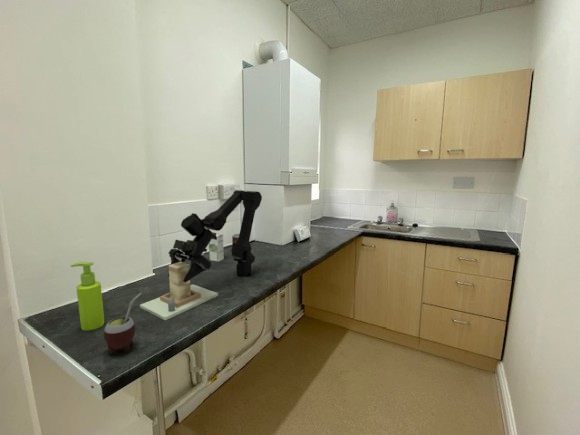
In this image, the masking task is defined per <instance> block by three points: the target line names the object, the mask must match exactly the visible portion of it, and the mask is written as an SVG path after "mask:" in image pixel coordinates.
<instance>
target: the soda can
mask: <svg viewBox="0 0 580 435" xmlns="http://www.w3.org/2000/svg"><path fill="white" fill-rule="evenodd" d="M239 234H240V233H235V234H233V235H232V236H231V237H232V238H231V239H232V241H231V242H232V243H231V244H233V242H235V243H236V242H237V240H238V239H239Z"/></svg>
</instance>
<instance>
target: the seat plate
mask: <svg viewBox="0 0 580 435" xmlns="http://www.w3.org/2000/svg"><path fill="white" fill-rule="evenodd" d="M190 289H191V296H190V297H188V298H186V299H183V300H181V301H179V302H176V301H174V298H170V292H167V293H165V294H163V295H160V296H159V297H157V298H154V299H152V300H149V301H147V302H143V303H140V304H139V308H140V309H142V310H144V311H146V312H148V313H150V314H151V315H154V316H156V317H158V318H159V319H161V320H164V321H168V320H169V319H172V318H174V317H175V316H178V315H179V314H182V313H184V312H186V311H188V310H190V309H193V308H196V307H197V306H200V305H201V304H203V303H206V302H209V301H210V300H212V299H214V298H216V297H219V292H216V291H213V290H210V289H207V288H204V287H202V286H199V285H195V284H190Z"/></svg>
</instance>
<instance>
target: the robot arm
mask: <svg viewBox="0 0 580 435" xmlns="http://www.w3.org/2000/svg"><path fill="white" fill-rule="evenodd" d="M262 198H263V197H262V194H261V192H260V191H258V190H257V191H256V190H247V191H246V190H240V189H239V190H237V189H236V190H234V191H233V193H232V194H231V196H230V197H229V198H227V200H226V201H225V202H224V203H223V204H222V205H221V206H220V207H218V209H216V210H214V211H212V212H211V211H210V213H209V214H207V215H206V216H205V217H204V218H202V219H201V218H200V217H199V216H198V214H197V213H191V214H190V215H188V216H186V217H185V218H183V219H182V221H181V223H180V226H181V228H182V229H183V230H185V232H187V233H188V234H189V235H190V236H192V237H194V238H193V239H192V240H190V239H187V240H186V241H184V240H179V239H175V240H174V243H173V247H172V248H171V249H170V250H169V251H168V253H167V254H168V257H170V265H171V264H175V263H178V262H183V263H186V261H187V262H190V266H189V268H190V269H189V271H188V273H187V274H186V276H185V278H184V280H183V282H185V283H186V282H187V281H189V280H190V281H191V279H193V278H195V277H196V276H198V275H199V274H201V273H203V272H206V271H207V270H208V271H209V270H210V269H211V267H212V262H211V261H210V260H209V259H208V258H207V257H206V256H204V255H203V254H204V253H207V252H208V249H207V247H209V242H210V241H211V239H214V240H217V236H216V233H217V232H218V231H219V232H220V231H221V230H222V229H223V228H224V226H225V224H226V223H227V220H228V217H229V216H230V215H231V214H232V213H233V211H235V209H236V208H237V207H238V206H239V205H240V204H241V203H242V205H243V209H244V211H243V216H242V220H241V225H240V229H239V230H240V231H239V233H238V234H239V239H238V240H237V242H236V243H235V242H233V244H232V243H231V244H232V246H231V250H230V251H231V256H232V257H233V261H234V262H237V263H236V265H235V267H236V268H235V269H236V271H235V272H236V275H237V278H238V277H252V276H253V273H252V264H253V263H254V262H255V259H256V256H254V254H253V253H252V246H251V242H250V239H251V236H252V235H251V234H252V230H253V224H254V219H255V214H256V211H257V210H258V208H259V207H260V205H261V202H262ZM213 231H217V232H213ZM167 276H168V277H169V271H168V272H167Z"/></svg>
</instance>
